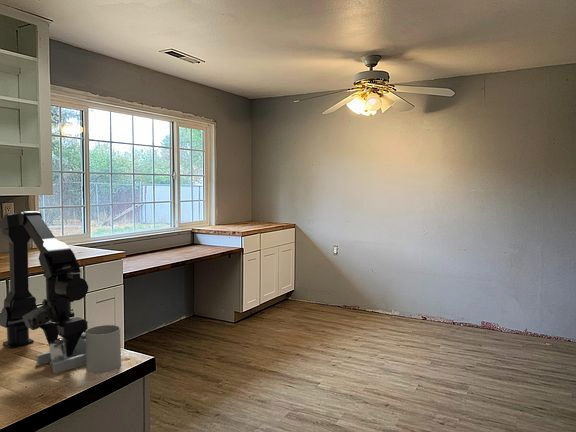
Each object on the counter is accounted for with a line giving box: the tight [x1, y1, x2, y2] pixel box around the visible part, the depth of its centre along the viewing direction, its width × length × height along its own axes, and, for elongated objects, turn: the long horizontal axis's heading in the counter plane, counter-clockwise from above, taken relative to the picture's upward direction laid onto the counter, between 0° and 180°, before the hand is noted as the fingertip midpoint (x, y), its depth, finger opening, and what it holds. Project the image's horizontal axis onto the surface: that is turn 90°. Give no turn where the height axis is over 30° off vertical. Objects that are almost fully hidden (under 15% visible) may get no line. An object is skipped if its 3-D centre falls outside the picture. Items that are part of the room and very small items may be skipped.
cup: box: [84, 324, 122, 374], centre depth 119 cm, size 8×8×10 cm
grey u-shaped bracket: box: [35, 332, 87, 375], centre depth 123 cm, size 10×14×6 cm
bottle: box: [48, 337, 72, 369], centre depth 121 cm, size 5×5×7 cm
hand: (60, 352), depth 121 cm, fingers open, 9 cm apart
